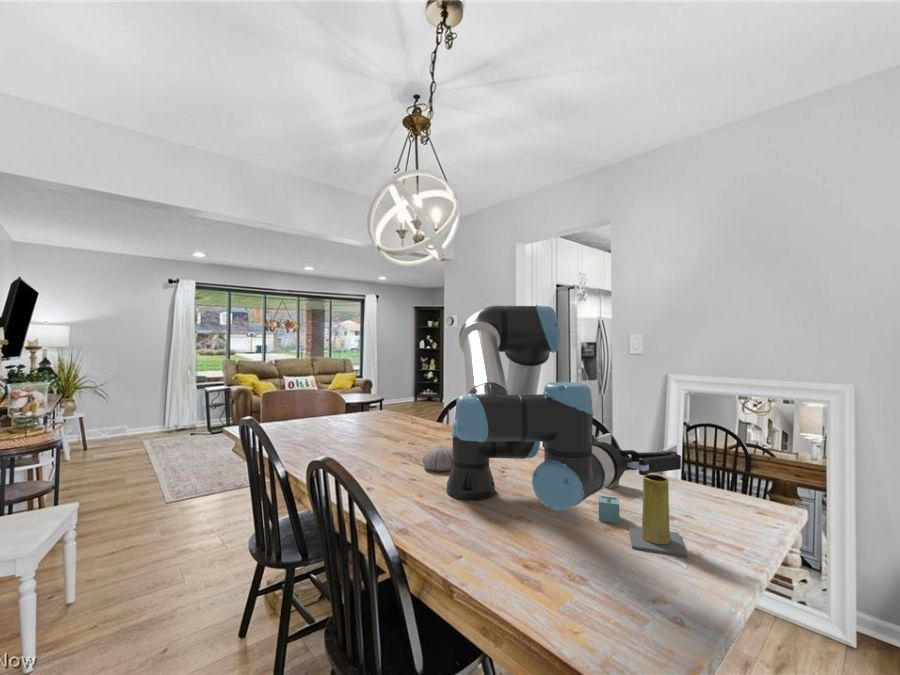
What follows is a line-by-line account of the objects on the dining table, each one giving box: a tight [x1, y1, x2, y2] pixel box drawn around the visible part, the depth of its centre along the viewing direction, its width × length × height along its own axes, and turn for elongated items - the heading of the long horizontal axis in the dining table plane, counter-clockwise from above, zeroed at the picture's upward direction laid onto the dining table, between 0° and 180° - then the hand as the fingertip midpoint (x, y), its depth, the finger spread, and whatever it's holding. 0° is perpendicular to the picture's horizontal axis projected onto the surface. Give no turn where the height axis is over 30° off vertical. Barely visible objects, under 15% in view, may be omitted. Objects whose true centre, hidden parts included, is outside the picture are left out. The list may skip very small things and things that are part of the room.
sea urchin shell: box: [422, 445, 452, 472], centre depth 153 cm, size 13×14×8 cm
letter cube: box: [598, 495, 620, 525], centre depth 108 cm, size 5×5×5 cm
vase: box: [641, 473, 671, 545], centre depth 95 cm, size 6×6×14 cm
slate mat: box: [628, 525, 688, 558], centre depth 95 cm, size 11×11×1 cm
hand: (640, 444), depth 89 cm, fingers open, 13 cm apart
